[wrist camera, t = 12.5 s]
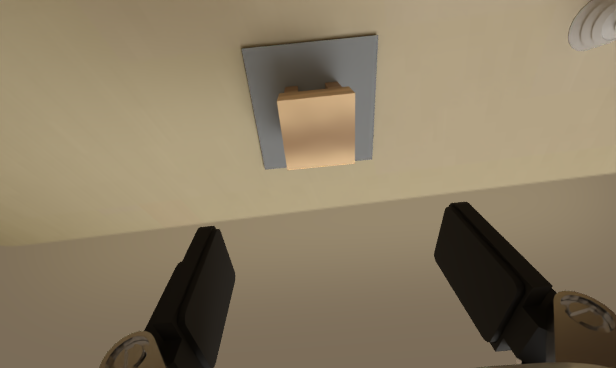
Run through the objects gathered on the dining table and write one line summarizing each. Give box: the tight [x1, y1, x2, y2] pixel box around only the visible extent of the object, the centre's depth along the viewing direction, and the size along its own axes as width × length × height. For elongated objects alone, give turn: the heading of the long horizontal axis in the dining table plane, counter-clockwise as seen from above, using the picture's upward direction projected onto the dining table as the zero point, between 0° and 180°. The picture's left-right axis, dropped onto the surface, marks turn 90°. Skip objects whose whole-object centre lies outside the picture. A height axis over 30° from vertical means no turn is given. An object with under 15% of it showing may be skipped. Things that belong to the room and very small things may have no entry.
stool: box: [277, 82, 355, 170], centre depth 26 cm, size 6×6×8 cm
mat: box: [242, 35, 378, 169], centre depth 30 cm, size 14×14×1 cm
